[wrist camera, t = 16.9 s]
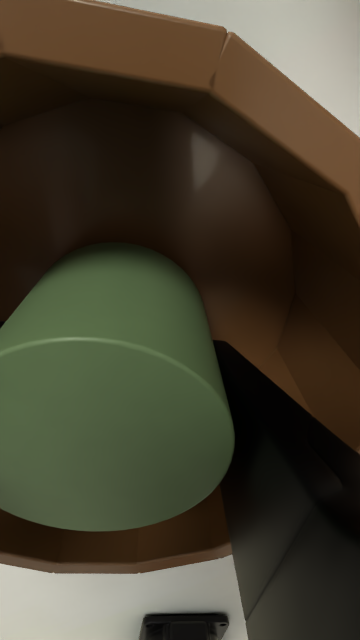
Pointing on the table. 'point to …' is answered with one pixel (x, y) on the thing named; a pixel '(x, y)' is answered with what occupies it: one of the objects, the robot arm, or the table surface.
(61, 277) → the candle
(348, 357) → the brown shallow round container
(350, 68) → the table surface
